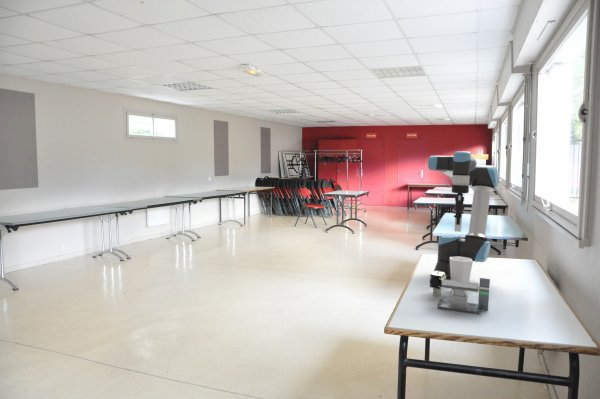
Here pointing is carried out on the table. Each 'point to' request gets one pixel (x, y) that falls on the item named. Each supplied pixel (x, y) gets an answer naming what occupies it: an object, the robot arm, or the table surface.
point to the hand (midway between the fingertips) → (457, 229)
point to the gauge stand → (461, 301)
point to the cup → (460, 269)
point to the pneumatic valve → (437, 282)
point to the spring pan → (461, 286)
